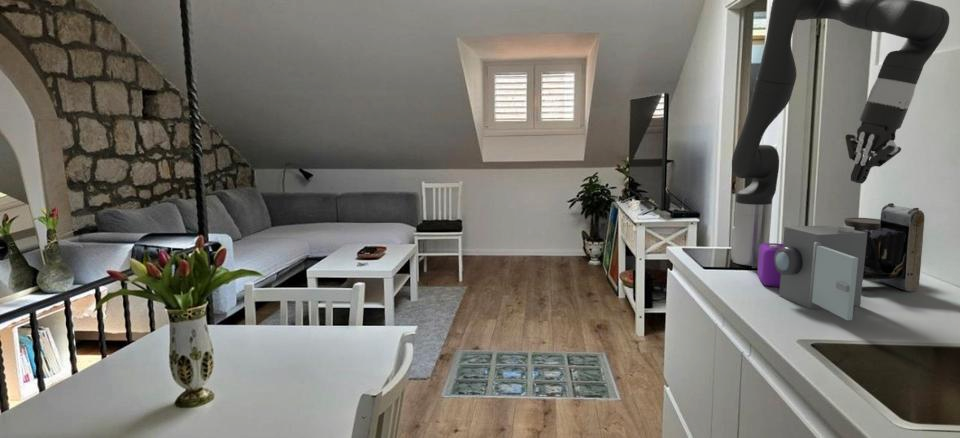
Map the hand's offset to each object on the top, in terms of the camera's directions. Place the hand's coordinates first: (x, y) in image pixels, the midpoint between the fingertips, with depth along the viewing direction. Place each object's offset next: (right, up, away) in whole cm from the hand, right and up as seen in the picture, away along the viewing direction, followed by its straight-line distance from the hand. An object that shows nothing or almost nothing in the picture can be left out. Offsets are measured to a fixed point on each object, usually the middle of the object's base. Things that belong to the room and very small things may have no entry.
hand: (856, 182), depth 128 cm
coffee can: (+19, -22, +27) cm, 40 cm away
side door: (-13, -27, -11) cm, 31 cm away
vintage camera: (+12, -25, +13) cm, 30 cm away
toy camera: (-8, -24, +18) cm, 31 cm away
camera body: (-8, -26, +2) cm, 28 cm away
